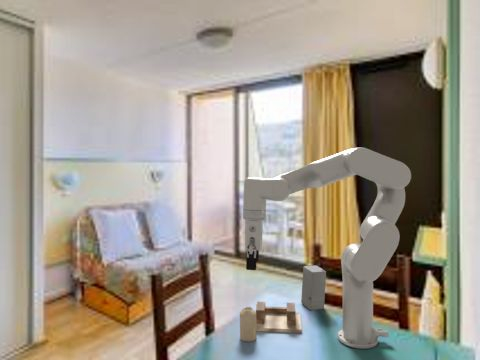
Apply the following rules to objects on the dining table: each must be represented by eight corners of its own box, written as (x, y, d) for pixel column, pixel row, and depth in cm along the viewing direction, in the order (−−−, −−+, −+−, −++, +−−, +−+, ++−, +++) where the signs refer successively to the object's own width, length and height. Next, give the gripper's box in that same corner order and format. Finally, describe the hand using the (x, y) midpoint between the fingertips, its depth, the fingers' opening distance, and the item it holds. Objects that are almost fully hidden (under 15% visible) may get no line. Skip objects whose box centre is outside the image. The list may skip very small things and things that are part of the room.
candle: (255, 342, 118) (254, 312, 117) (238, 341, 119) (238, 311, 119) (257, 334, 123) (257, 305, 123) (241, 333, 124) (241, 304, 124)
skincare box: (300, 303, 150) (300, 265, 149) (316, 301, 152) (316, 264, 151) (310, 311, 142) (310, 271, 141) (326, 309, 144) (326, 269, 143)
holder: (299, 315, 138) (299, 299, 138) (301, 333, 124) (301, 315, 124) (252, 314, 140) (252, 298, 140) (249, 330, 126) (249, 313, 126)
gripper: (264, 219, 110) (262, 274, 111) (266, 211, 128) (265, 259, 128) (239, 217, 111) (238, 272, 112) (245, 210, 128) (244, 258, 129)
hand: (252, 265), depth 120 cm, fingers open, 9 cm apart
